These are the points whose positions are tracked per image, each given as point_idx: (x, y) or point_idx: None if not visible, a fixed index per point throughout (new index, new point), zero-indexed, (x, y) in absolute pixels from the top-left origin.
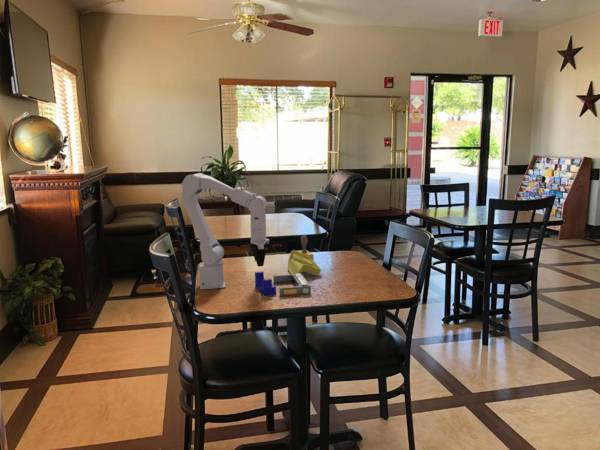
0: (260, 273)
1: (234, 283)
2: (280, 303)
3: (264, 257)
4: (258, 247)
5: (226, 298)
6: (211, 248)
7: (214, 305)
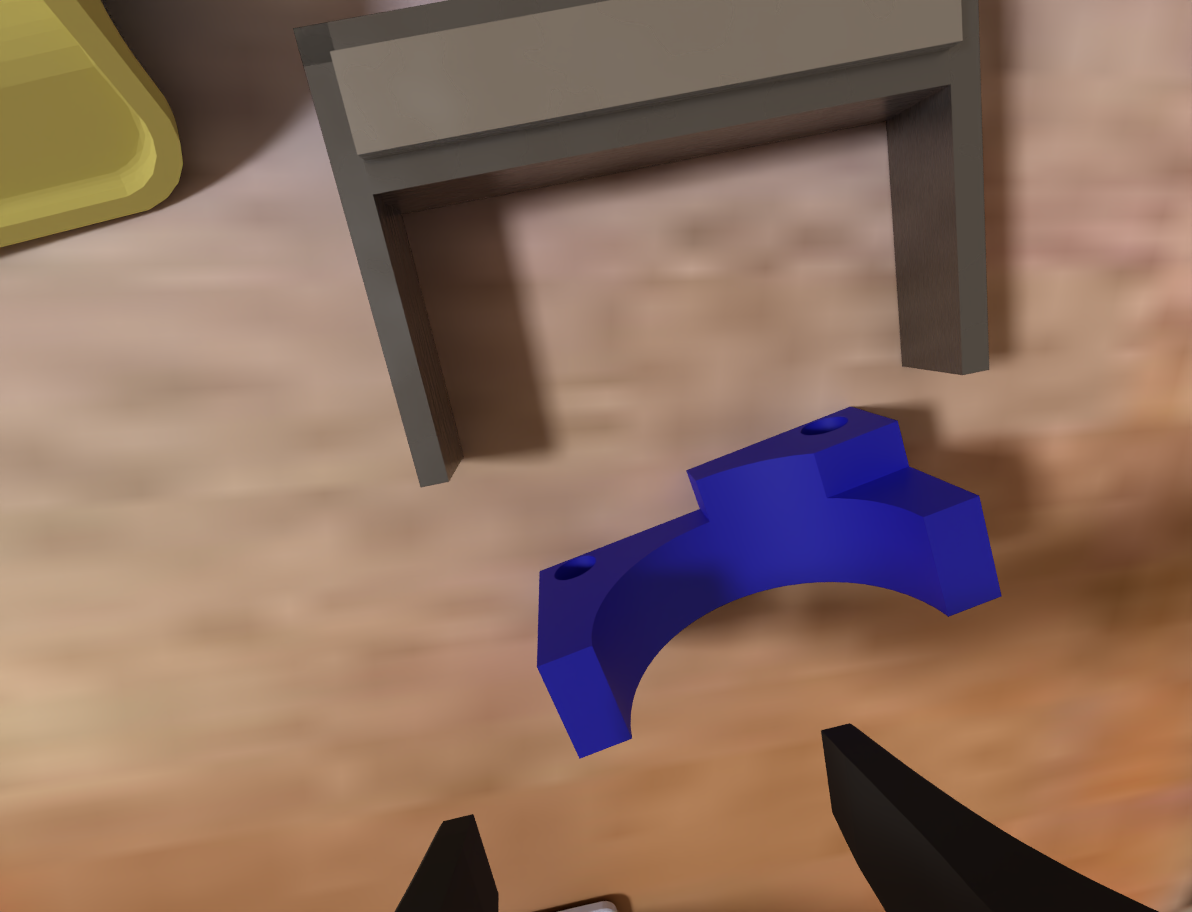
0: (609, 676)
1: None
2: (1136, 344)
3: (1022, 845)
4: None
5: None
6: None
7: None
